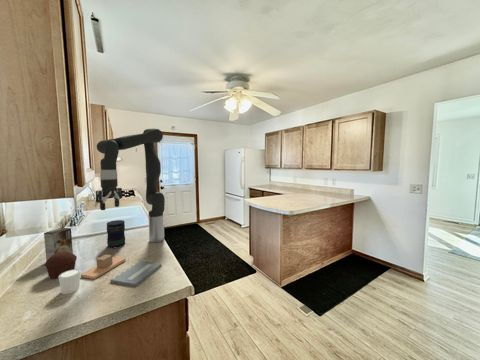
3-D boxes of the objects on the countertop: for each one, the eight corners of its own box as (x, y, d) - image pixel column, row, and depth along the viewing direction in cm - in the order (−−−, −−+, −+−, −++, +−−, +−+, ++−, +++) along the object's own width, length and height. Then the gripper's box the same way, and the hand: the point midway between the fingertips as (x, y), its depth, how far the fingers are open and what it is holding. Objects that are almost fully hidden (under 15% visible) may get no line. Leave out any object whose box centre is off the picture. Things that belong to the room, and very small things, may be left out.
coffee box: (64, 254, 113) (62, 227, 111) (73, 255, 111) (71, 228, 110) (45, 262, 104) (43, 232, 102) (55, 263, 102) (53, 233, 101)
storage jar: (119, 248, 122) (118, 224, 121) (103, 248, 122) (102, 224, 121) (128, 242, 132) (127, 220, 131) (114, 242, 132) (113, 220, 131)
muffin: (40, 277, 90) (38, 255, 90) (69, 265, 101) (67, 246, 100) (53, 283, 86) (52, 261, 85) (82, 271, 96) (81, 251, 95)
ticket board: (139, 262, 104) (139, 260, 104) (161, 265, 102) (161, 263, 101) (110, 282, 87) (110, 279, 87) (135, 286, 84) (135, 283, 84)
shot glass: (64, 286, 84) (63, 270, 83) (83, 283, 86) (83, 267, 86) (55, 296, 77) (54, 279, 77) (77, 292, 80) (76, 276, 79)
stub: (113, 258, 108) (113, 248, 108) (125, 260, 106) (125, 250, 106) (80, 276, 91) (80, 265, 90) (94, 279, 89) (93, 267, 88)
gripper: (114, 177, 113) (115, 205, 114) (90, 178, 99) (91, 210, 100) (125, 177, 111) (126, 206, 112) (102, 179, 97) (104, 211, 99)
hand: (110, 208), depth 106 cm, fingers open, 8 cm apart
